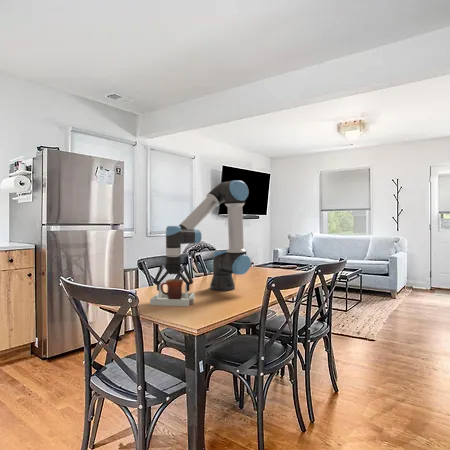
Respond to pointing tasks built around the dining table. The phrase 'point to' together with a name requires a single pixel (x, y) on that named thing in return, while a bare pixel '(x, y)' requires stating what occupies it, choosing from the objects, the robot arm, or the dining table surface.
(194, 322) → the dining table surface
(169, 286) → the mug
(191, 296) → the grey-green tray
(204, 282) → the dining table surface
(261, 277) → the dining table surface
